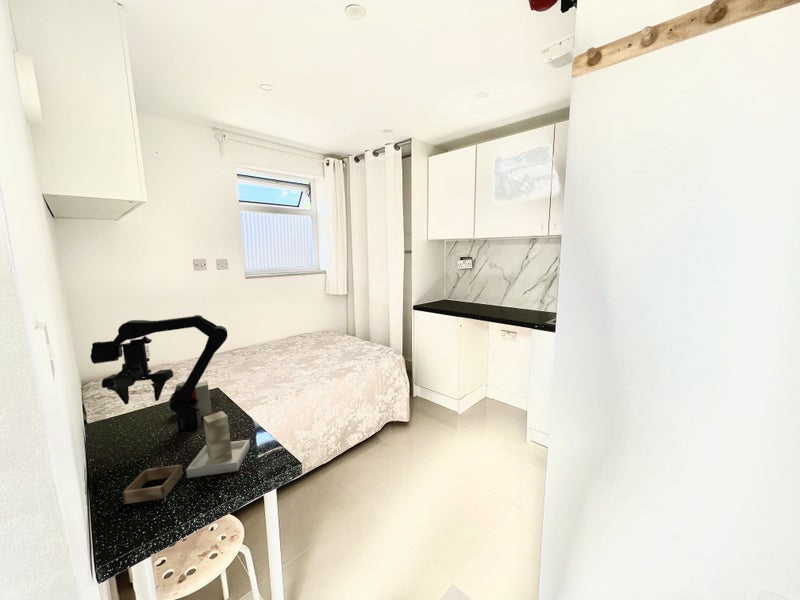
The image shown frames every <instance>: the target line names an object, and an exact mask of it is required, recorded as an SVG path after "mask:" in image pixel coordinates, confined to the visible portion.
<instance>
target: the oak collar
mask: <svg viewBox="0 0 800 600" xmlns="http://www.w3.org/2000/svg"><path fill="white" fill-rule="evenodd" d="M183 472H184V471H183V464H174V465H168V466H161V467H160V466H159V467H155V468H154V467H153V468H148V469H146V468H145V469H144V470H143V471H142V472H141V473H140V474H139V475H138V476H136V478H135V479H134V480H133V481H131V483H130V484H129V485H128V486H127V487H126V488H125V489H124V490H123V491H122V492H121V496H122V497H121V498H122V504H123V505H127V504H133V503H134V504H135V503H141V502H147V501H153V500H160V499H165V498H166V497H167V496H168V495H169V493H170V492H171V491H172V489H173V488H174V487H175V485H176V484H177V483H178V482H179V481H180V479H181V478H182V476H183V474H184V473H183ZM163 479H166V480H165V481H164V483H163V484H162V485H157V486H150V487H144V488H142V487H143V486H144V485H145V484H146V483H147V482H148V481H156V480H163Z"/></svg>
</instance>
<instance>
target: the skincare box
mask: <svg viewBox="0 0 800 600" xmlns="http://www.w3.org/2000/svg"><path fill="white" fill-rule="evenodd" d="M195 389H196V396H197V400H198V401H199V402H198V409H200V412H201V418H202V417H205V416H209V415H212V414H213V412H212V405H211V399H210V398H211V397H210V391H209V390H210V389H209V382H208V380H204V381H201V382H199V383H197V385H196V387H195Z"/></svg>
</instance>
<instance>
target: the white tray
mask: <svg viewBox="0 0 800 600" xmlns="http://www.w3.org/2000/svg"><path fill="white" fill-rule="evenodd" d="M250 448H251V442H250V439H244V440H243V439H242V440H238V441H237V440H235V441H231V450H232V458H230V459H228V460H226V461H224V462H221V463H218V464H212V463H211V462H210V460H209V459H208V452H207V444H206V445H204V446H203V447H202V449H201V450H200V451H198V454H197V455H196V456H195V457H194V458H193V460H192V462H191V463H190V464H189V465H188V467H187V468H186V469H185V471H186V478H187V479H191V478H198V477H203V476H211V475H217V474H218V475H219V474H224V473H231V472H232V473H233V472H238V471H239V469H240V467H241V466H242V464H243V462H244V459H245V458H246V456H247V454H248V452H249V450H250Z"/></svg>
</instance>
